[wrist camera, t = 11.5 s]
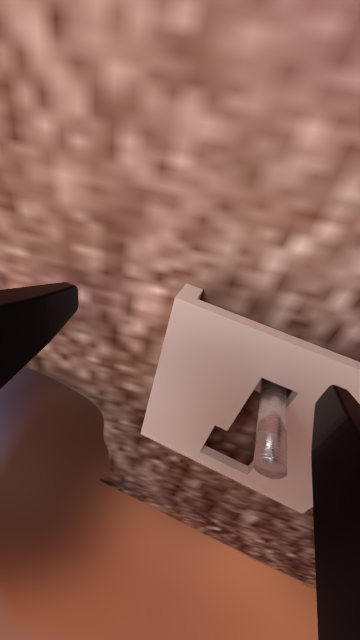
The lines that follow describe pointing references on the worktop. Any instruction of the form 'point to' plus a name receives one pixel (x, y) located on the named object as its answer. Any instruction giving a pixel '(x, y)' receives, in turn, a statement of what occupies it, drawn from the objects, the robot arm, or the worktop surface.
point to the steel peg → (271, 430)
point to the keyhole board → (239, 390)
